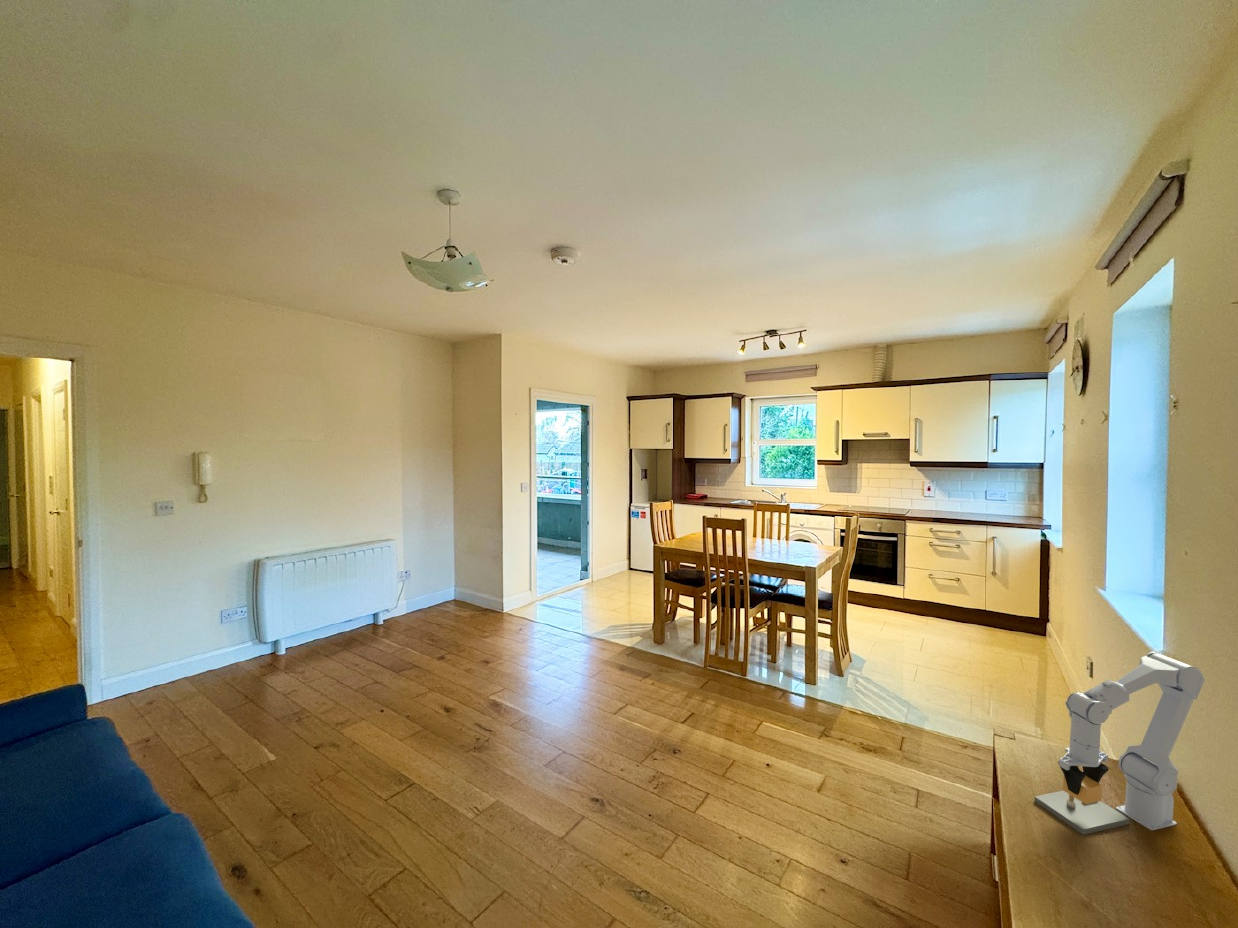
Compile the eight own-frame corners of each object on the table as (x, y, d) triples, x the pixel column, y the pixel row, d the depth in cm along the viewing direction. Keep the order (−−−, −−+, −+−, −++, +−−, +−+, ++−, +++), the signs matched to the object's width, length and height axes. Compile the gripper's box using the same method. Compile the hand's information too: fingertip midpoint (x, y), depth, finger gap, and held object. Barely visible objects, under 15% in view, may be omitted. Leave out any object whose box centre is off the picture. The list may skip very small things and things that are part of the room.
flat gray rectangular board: (1077, 792, 144) (1078, 777, 144) (1128, 823, 132) (1130, 807, 132) (1034, 801, 140) (1035, 785, 140) (1082, 834, 128) (1084, 818, 128)
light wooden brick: (1077, 786, 136) (1078, 771, 136) (1101, 800, 131) (1102, 785, 131) (1062, 790, 135) (1063, 774, 135) (1085, 804, 130) (1086, 788, 129)
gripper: (1087, 728, 138) (1084, 775, 139) (1047, 735, 134) (1044, 784, 135) (1118, 743, 131) (1115, 793, 132) (1077, 751, 127) (1074, 802, 128)
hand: (1081, 789), depth 133 cm, fingers closed on light wooden brick, 5 cm apart
